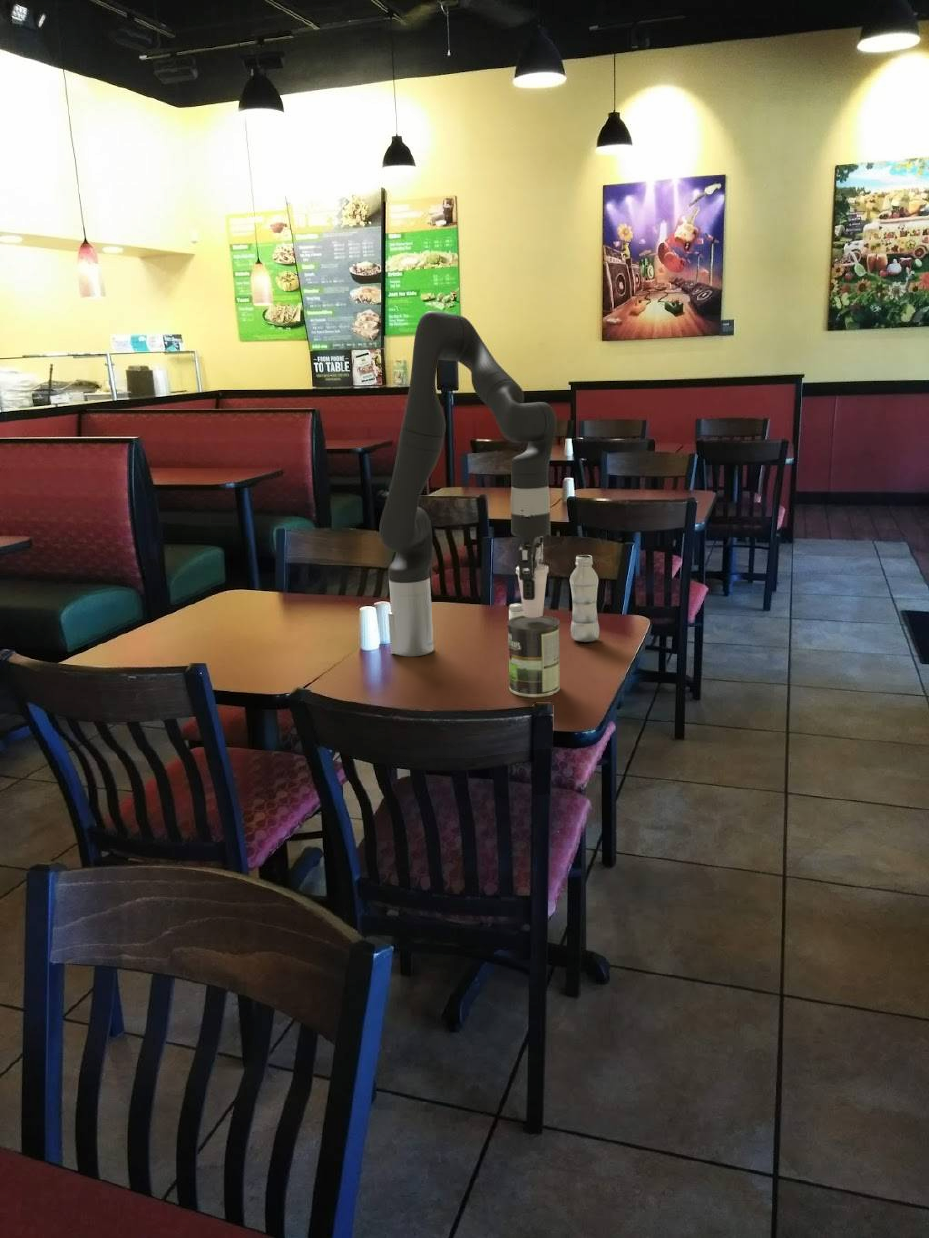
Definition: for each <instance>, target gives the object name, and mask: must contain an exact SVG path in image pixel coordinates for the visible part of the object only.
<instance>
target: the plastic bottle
mask: <svg viewBox="0 0 929 1238" xmlns="http://www.w3.org/2000/svg"><path fill="white" fill-rule="evenodd" d="M593 563H594V562H593V556H592V555H589V554H580V555H576V557H575V566H576V567H575V568H574V569H573V571H572V573H571V574H570V578H569V584H570V589H571V590H570V591H571V597H572V598H571V599H572V600H571V601H572V616H571V617H572V618H571V624H570V635H571V637H572V639H573V640H574V641H577V642H580V643H581V642H583V643H587V642H588V643H591V642H594V641H596V640H597V639H598V638H599V634H600V625H599V624H600V623H599V621H598V612H597V601H598V600H597V598H598V588H599V577H598V574H597V573H596V571H595V569H594V568H593V567H592V565H594V564H593Z"/></svg>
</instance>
